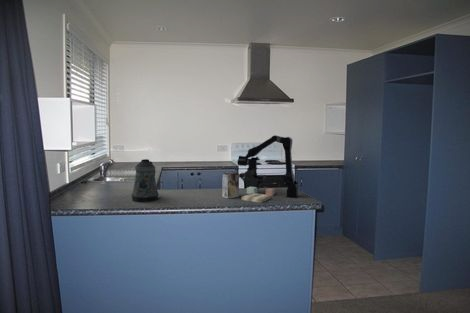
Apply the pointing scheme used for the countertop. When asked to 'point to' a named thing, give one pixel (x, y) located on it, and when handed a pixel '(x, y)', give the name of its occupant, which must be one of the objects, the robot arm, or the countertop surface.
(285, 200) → the countertop surface
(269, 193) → the terracotta cube
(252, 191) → the sage block
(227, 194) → the coffee box
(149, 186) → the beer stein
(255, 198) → the birch plinth
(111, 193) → the countertop surface
